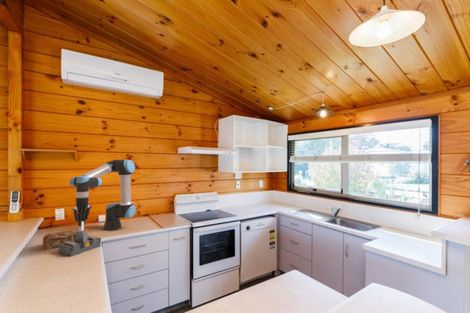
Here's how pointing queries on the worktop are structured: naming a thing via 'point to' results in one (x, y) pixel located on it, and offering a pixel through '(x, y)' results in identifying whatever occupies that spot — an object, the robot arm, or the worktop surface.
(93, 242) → the rack
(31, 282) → the worktop surface
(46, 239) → the bread
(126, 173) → the robot arm
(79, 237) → the block
